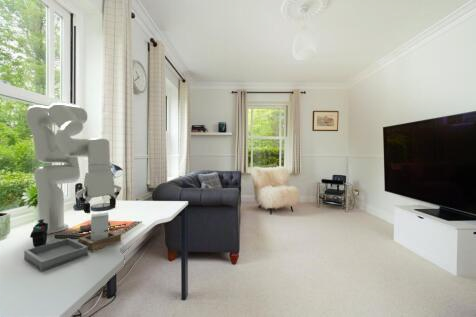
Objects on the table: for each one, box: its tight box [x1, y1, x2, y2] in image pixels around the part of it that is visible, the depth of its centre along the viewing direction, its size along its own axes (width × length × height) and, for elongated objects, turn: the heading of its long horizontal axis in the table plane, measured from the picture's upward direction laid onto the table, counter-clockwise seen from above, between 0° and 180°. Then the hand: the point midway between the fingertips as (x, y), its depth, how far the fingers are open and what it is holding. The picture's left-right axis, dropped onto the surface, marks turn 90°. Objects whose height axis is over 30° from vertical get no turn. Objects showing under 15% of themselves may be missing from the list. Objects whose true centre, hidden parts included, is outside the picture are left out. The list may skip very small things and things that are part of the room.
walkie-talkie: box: [77, 221, 128, 233], centre depth 105 cm, size 9×4×20 cm
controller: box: [29, 219, 48, 248], centre depth 84 cm, size 4×12×10 cm, turn 36°
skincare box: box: [90, 212, 109, 242], centre depth 87 cm, size 6×4×12 cm
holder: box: [77, 230, 122, 253], centre depth 87 cm, size 11×11×3 cm
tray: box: [23, 237, 89, 272], centre depth 76 cm, size 16×13×3 cm
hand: (100, 210), depth 87 cm, fingers open, 9 cm apart
